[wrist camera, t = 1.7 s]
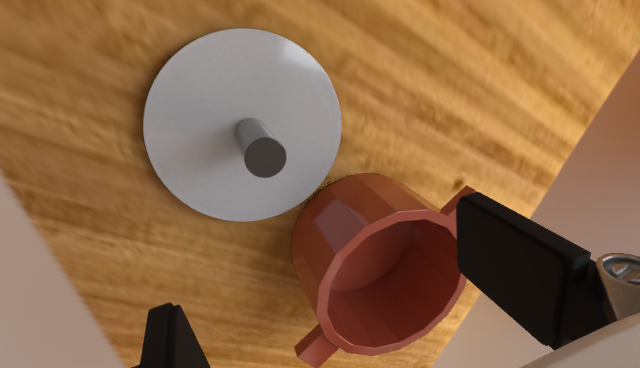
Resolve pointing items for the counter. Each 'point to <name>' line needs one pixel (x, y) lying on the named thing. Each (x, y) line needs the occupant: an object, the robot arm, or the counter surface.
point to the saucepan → (374, 266)
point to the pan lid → (242, 124)
